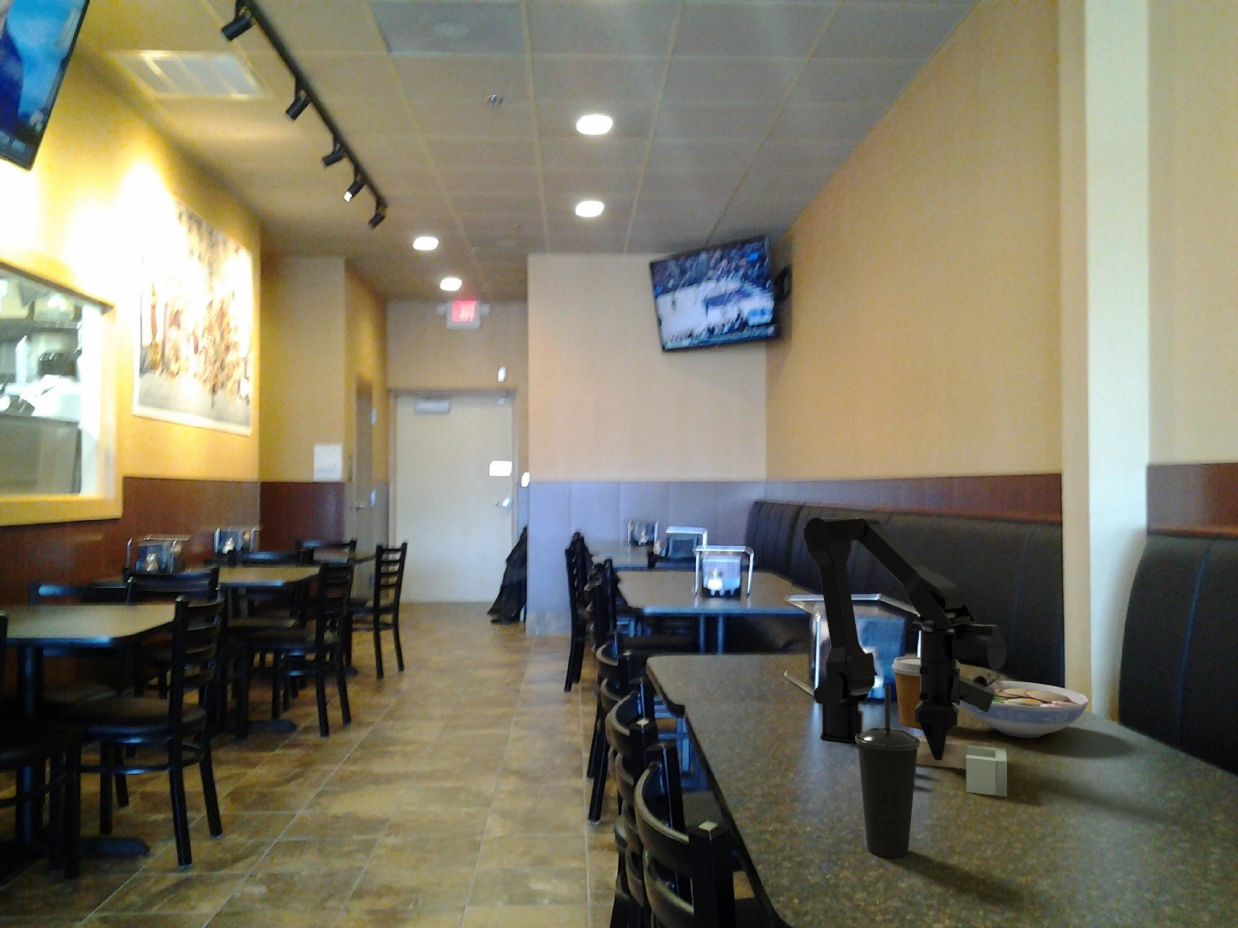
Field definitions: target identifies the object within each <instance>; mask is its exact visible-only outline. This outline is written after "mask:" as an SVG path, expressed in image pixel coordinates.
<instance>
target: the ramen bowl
mask: <svg viewBox="0 0 1238 928" xmlns="http://www.w3.org/2000/svg"><path fill="white" fill-rule="evenodd" d="M984 677H986V678H987V684H988V687H992V688H993V689H994V690H995V696H994V699H993V701H992V704H991V706H990V709H989V711H988V712H984V711H981V710H979V708H978V707H975V706H973V705H971V704H968V703H966V702H964V701H962V700H960V703H962V704H963V706H964V708H965V709H966V710H967V712H968V713H969V714H970V715H971V716H973V717H974V718H975V719H976V720H978V721H980V722H981V723H983V724H985V725H986V726H988V727H991V728H993V729H996V730H997V731H998V732H1000V733H1002V734H1004V735H1006V736H1011V737H1017V738H1024V739H1026V738H1027V739H1028V738H1029V739H1031V738H1032V739H1033V738H1040V737H1042V736H1044V735H1047V734H1051V733H1054V732H1059V731H1061V730H1064V729H1065V728H1067V727H1068V726H1070V725H1072V724H1074V723H1075V722H1076V721H1077V720H1078V719H1079V718H1080V717H1081V715H1082V714H1083V712H1084V711H1085V710H1086V708H1087V707H1088V704H1089V703H1090V699H1089V698H1088V696H1087V695H1086V694H1083V693H1080V692H1077V691H1076V690H1072V689H1068V688H1065V687H1064V688H1063V687H1060V686H1054V685H1049V684H1044V683H1043V684H1041V683H1035V682H1027V681H1025V682H1024V681H1015V680H1014V681H1013V680H1011V681H1010V680H999V679H1000V678H1001V674H1000V673H996V674H995V675H994V676H993V677H992V673H991V672H987V673H986V674H985V676H984ZM991 677H992V678H991ZM990 678H991V679H990ZM989 679H990V680H989Z"/></svg>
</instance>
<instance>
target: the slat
mask: <svg viewBox="0 0 1238 928" xmlns="http://www.w3.org/2000/svg"><path fill="white" fill-rule="evenodd" d="M913 736H914V737H916V738H918V739H919V740H920V746H919V748H918V750H917V761H916V765H922V764H925V765H924V766H932V767H941V766H942V767H943V768H944V767H945V768H951V767H956V768H955V769H960V768H962V769H961V770H966V756H967V745H974V746H983V747H990V746H989V742H982V741H974V740H973V741H971V740H963V739H953V738H946V741H945V746H944V751H943V756H942V760H935V759H934V757H933V754H932V752H931V749H930V747H929V744H928V742H927V740H926V737H925V736H923V735H922V736H919V735H913Z"/></svg>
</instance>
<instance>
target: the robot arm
mask: <svg viewBox="0 0 1238 928" xmlns="http://www.w3.org/2000/svg"><path fill="white" fill-rule="evenodd" d="M803 537H804V538H803V539H804V543H805V545H806V549H807V552H808V554H809V556H810V557H811V558H812V560H813V562H814V564H816V565H817V567H818V570H819V577H820V584H821V590H822V596H823V603H824V604H823V605H824V608H825V615H826V617H825V618H826V621H827V628H828V629H827V630H828V635H829V636H828V637H829V641H830V642H829V643H830V649H829V652H828V655H827V658H826V661H825V679H824V680H823V681H822V682H821V683H820V684H819V685H818V686H817V687H816V688H814V690H813V696H814V700H815V702H816V704H818V705H822V707H821V708H822V709H821V710H822V711H821V712H822V713H821V715H822V717H821V718H822V719H821V720H822V721H821V727H822V729H821V731H822V733H821V734H820V737H819V738H820V739H821V740H828V741H829V740H830V741H837V742H838V741H839V742H846V743H847V742H848V743H857V742H856V740H855V736H856V735H857V734H858V733H861V732H864V711H863V710H861V703H864V702H865V703H866V702H867V701H868V698H869V694H870V692H871V691H872V690H873V688H874V687H875V684H876V677H877V676H878V672H877V670H876V667H875V656H874V654H873V652H866V651H865V650H864V649H863V647H862V646H861V644H860V641H859V636H858V635H859V634H858V630H857V623H856V618H855V612H854V605H853V598H852V591H851V585H850V579H849V574H848V567H847V562H848V559H849V557H850V553H851V551H852V542H855V541H858V542H859V543H860V544H861V545H862V547H864V548H865V549H866V550H867V551H868V552H869V553H870V554H871V555H872V556H873V557H874V559H876V560H877V561H878V562H879V563H880V564H881V565H882V566H883V567H884V568H885V569H886V570H887V571H888V572H889V573H890V574H891V575H892V576H893V577H894V578H895V579H896V580H897V581H898V582H899V583H900V584H901V586H902V587H903V588H904V592H905V595H906V599H907V600H908V602H909V603H910V604H911V606H912V607H913V608H914V610H915V612H917V614H918V616H917V617H916V619H915V620H914V621H913V622H912V623H910V624H909V625H908V630H910V631H911V630H912V631H918V632H920V655H919V657H920V671H919V674H920V693H919V700H921V702H920V703H919V704H918V705H917V706H916V709H915V722H918V723H920V726H921V728H920V729H921V730H922V732H923V735H924V737H926V740H927V742H928V744H929V747H930V749H931V752H932V754H933V757H934V759H935V760H942V756H943V751H944V746H945V741H946V739H947V735H948V731H949V730H950V729H951V728H953V727H958V722H959V720H958V719H959V713H960V709H958V708H957V707H956V706H961V700H962V701H964V702H966V703H968V704H971V705H973V706H975V707H978V708H979V710H981V711H984V712H988V711H989V709H990V706H991V704H992V701H993V699H994V696H995V690H994V689H993V688H992V687H988V684H987V681H988V679H987V678H986V677H985V676H983V675H981V674H976V675H975V676H974V677H973V678H970V677H965V676H962V675H961V674H960V673H961V668H960V667H959V665H958V663H959V664H960V665H962V666H963V665H964V666H970V667H976V668H981V669H988V670H993V671H998V670H1000V669H1001V668H1002V667H1003V666H1004V665H1005V662H1006V658H1007V653H1008V646H1007V645H1006V642H1005V638H1004V637H1003V635H1002V634H1001V633H1000V626H999V625H997V624H982V623H981V624H980V623H978V621H977V619H976V618H975V615H974V614H973V613H972V611H971V609H970V608H969V606H968V604H967V603H966V602H965V600H964V597H965V596H964V595H965V594H964V593H963V591H962V589H961V588H960V587H959V586H958V585H956V583H953V582H952V581H951V580H949V579H947V578H946V577H945V576H943V575H941V574H939V573H937V572H935V571H932V570H930V569H929V568H927V567H926V566H924V565H923V564H922V563H921V562H920V561H919V560H918V559H917V558H916V557H915V556H913V554H912V553H911V552H910V551H908V549H906V548H905V547H904V546H903V545H902V543H900V542H899V541H898V540H897V539H896V538H895V537H894V536H893V535H892V534H891V533H890V532H889V531H888V530H887V529H886V528H885V527H883V525H882V524H881V522H880V520H878V519H877V518H875V517H874V516H873V517H872V516H858V517H855V518H852V519H851V518H850V519H844V518H842V517H839V516H838V517H837V516H836V517H831V516H830V517H813V518H810V520H808V522H807V523H806V525H805V526H804V527H803ZM954 704H956V705H954Z"/></svg>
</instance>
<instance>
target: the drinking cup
mask: <svg viewBox="0 0 1238 928" xmlns="http://www.w3.org/2000/svg"><path fill="white" fill-rule="evenodd" d="M914 736H915V735H912V734H910V733H908V732H907V731H905V730H902V729H899V728H895V727H891V686H890V685H884V726H878V727H872V728H869V729H866V730H865V731H864V730H863V732H861V733H858V734H857V735H856V736H855V740H856V742H855V743H857V748H858V749H857V750H858V759H859V760H858V761H859V770H860V780H861V781H860V783H861V784H860V785H861V793H862V805H863V806H862V807H863V816H864V817H863V818H864V828H865V838H866V849H867V851H868V852H869V853H870V854H871V855H874V856H877V857H880V858H886V859H900V858H901V859H902V858H904V857H906V856H908V854H909V848H910V847H909V846H910V835H911V826H912V825H911V824H912V814H913V802H914V792H915V791H914V790H915V782H916V781H915V779H916V772H917V771H916V769H917V764H916V761H917V750H918V748H919V746H920V740H919V739H918V738H916V737H914Z"/></svg>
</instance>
